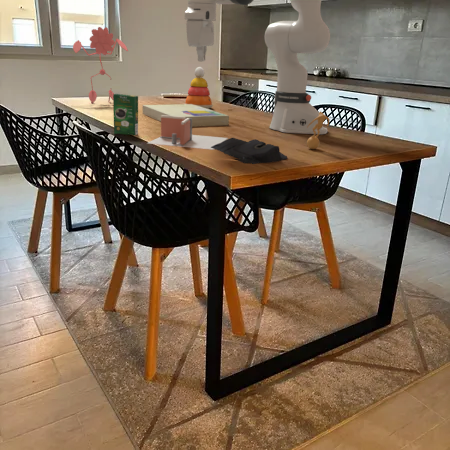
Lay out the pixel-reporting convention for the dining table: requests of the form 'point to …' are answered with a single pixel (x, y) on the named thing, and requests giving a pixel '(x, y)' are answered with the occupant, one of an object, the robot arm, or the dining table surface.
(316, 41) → the robot arm
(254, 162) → the dark slate chunk
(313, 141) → the figurine
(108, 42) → the figurine
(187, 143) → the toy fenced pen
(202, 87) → the stacking toy
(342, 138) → the dining table surface
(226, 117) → the puzzle box
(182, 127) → the fence panel
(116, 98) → the coffee box
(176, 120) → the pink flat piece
